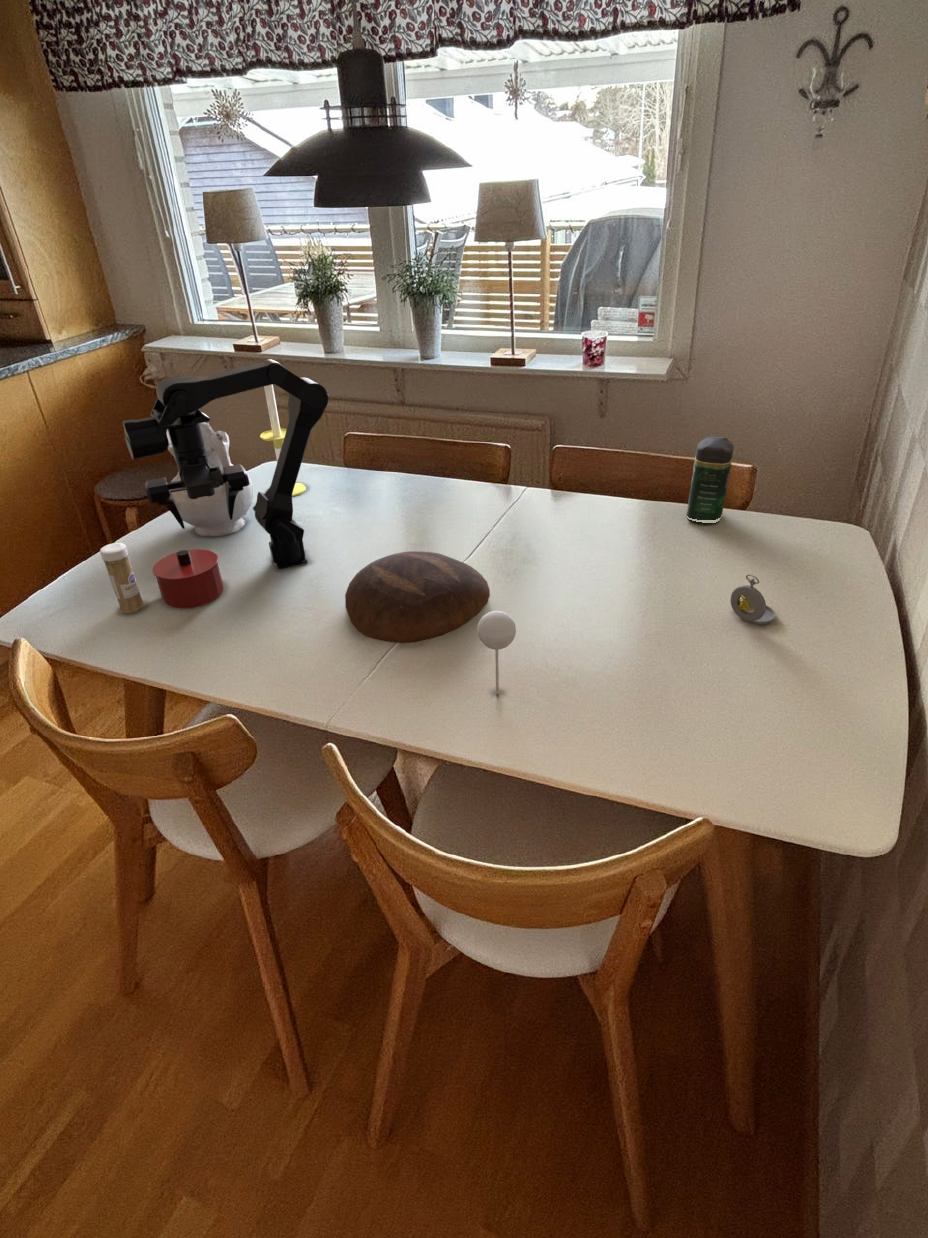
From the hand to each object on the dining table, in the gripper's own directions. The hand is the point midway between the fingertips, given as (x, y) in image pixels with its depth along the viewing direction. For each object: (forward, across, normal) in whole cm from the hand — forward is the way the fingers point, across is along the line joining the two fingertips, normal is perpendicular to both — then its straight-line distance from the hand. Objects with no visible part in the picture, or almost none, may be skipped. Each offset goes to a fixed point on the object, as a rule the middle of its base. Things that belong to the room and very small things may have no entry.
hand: (207, 523), depth 144 cm
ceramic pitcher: (+13, +4, +27) cm, 30 cm away
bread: (+13, +33, -29) cm, 46 cm away
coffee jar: (+13, +107, -22) cm, 110 cm away
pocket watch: (+13, +86, -61) cm, 106 cm away
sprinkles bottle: (+13, -18, -4) cm, 22 cm away
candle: (+13, +23, +43) cm, 51 cm away
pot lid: (+7, -6, -3) cm, 9 cm away
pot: (+13, -6, -3) cm, 15 cm away
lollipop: (+13, +35, -60) cm, 71 cm away
